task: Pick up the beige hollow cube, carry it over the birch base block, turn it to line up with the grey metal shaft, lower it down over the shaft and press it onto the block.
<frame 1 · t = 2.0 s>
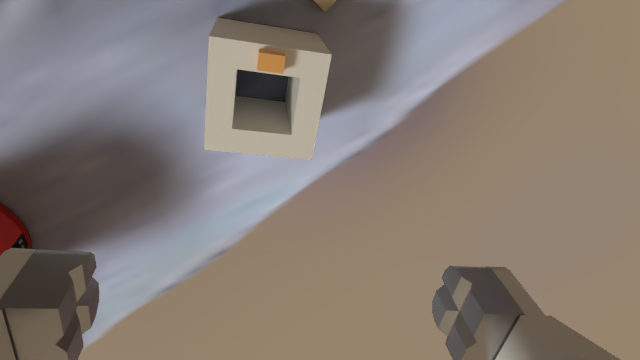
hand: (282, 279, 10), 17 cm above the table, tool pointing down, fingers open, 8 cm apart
beige hollow cube: (263, 74, 24), on the table
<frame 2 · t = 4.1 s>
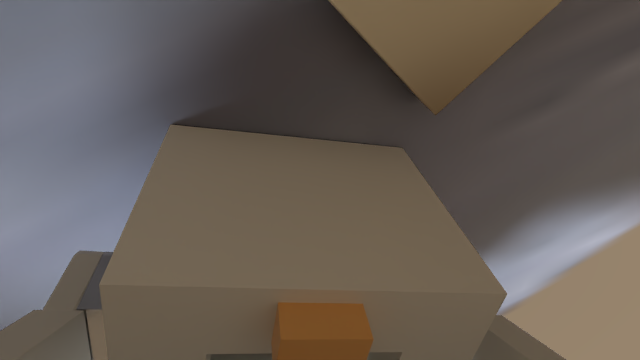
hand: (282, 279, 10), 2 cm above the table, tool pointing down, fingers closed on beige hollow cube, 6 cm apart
beige hollow cube: (279, 230, 11), on the table, touching gripper
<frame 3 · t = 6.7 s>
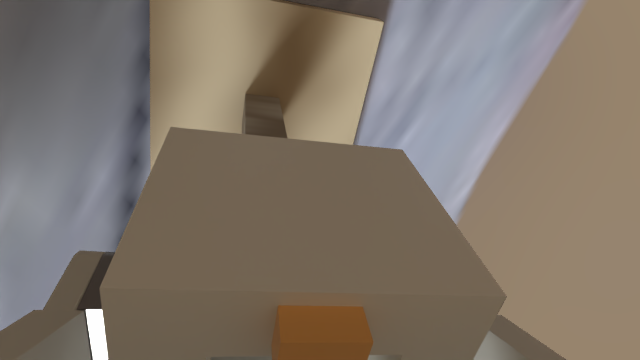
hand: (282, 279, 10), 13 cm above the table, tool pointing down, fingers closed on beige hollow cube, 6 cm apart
beige hollow cube: (279, 232, 11), point 11 cm above the table, touching gripper
shaft block: (259, 104, 21), on the table
when the fingers open (4 cm above the table, at t = 9.3 s): beige hollow cube drops 2 cm, resting on shaft block.
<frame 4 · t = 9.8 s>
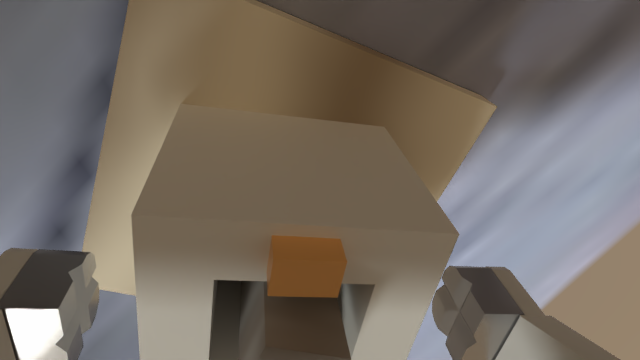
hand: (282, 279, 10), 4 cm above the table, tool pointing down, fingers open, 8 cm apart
beige hollow cube: (275, 201, 12), point 1 cm above the table, touching shaft block
shaft block: (275, 183, 13), on the table
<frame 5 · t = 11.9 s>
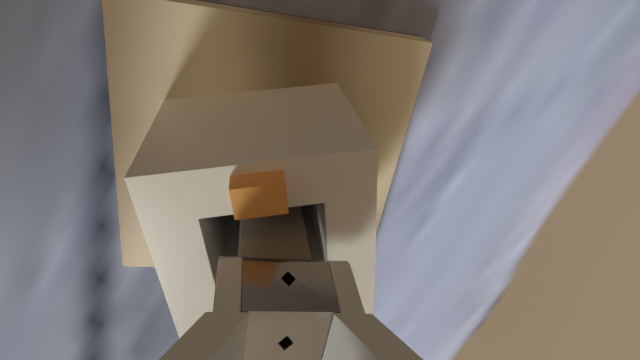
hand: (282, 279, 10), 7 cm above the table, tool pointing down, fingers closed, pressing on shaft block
beige hollow cube: (263, 166, 15), point 1 cm above the table, touching shaft block
shaft block: (263, 152, 16), on the table
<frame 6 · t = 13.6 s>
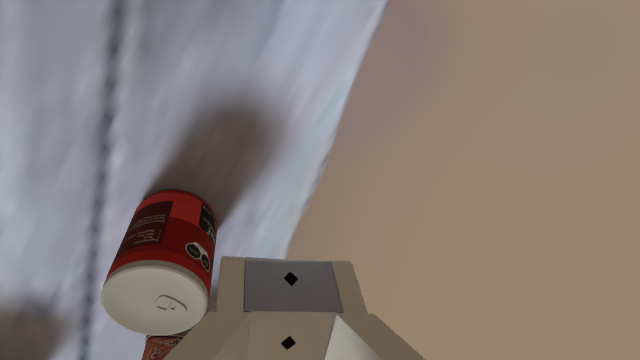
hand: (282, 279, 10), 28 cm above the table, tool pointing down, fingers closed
ornate red tin: (181, 338, 50), on the table
canned food: (178, 218, 41), on the table
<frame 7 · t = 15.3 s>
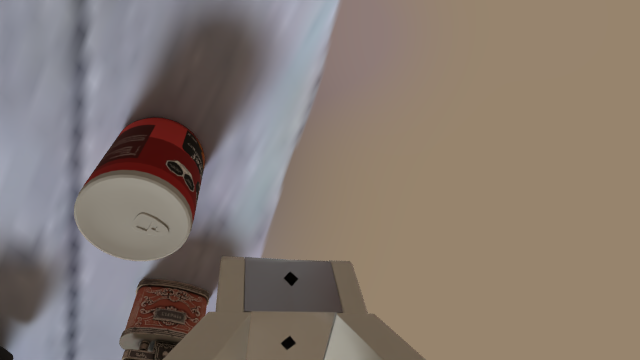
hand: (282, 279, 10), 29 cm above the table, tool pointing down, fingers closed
ornate red tin: (174, 290, 48), on the table
canned food: (163, 152, 39), on the table
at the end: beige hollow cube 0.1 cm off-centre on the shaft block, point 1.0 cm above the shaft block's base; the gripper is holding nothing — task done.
